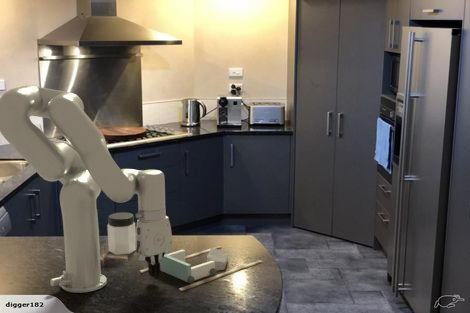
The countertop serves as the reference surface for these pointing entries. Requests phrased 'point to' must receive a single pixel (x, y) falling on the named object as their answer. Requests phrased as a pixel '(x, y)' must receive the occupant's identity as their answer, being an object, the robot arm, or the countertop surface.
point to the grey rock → (218, 258)
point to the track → (213, 276)
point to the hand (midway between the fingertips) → (154, 275)
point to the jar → (121, 233)
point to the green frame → (185, 267)
